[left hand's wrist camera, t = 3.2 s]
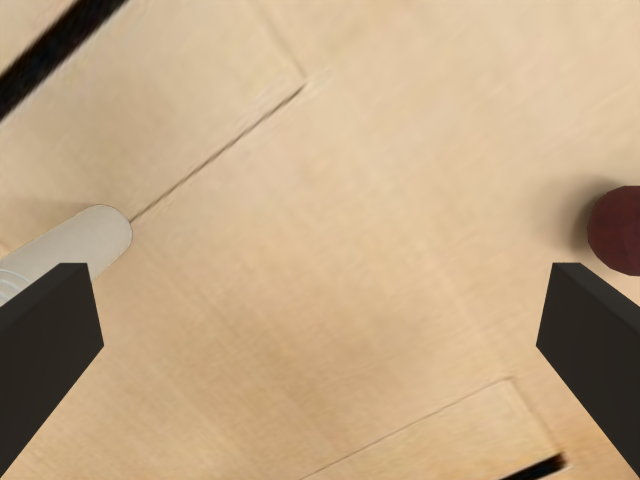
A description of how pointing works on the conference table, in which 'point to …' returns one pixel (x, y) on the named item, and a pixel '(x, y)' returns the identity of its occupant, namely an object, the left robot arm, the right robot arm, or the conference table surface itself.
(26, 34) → the conference table surface
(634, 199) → the dark maroon ball
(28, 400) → the left robot arm
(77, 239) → the bottle
